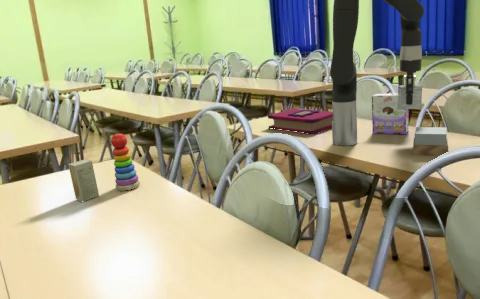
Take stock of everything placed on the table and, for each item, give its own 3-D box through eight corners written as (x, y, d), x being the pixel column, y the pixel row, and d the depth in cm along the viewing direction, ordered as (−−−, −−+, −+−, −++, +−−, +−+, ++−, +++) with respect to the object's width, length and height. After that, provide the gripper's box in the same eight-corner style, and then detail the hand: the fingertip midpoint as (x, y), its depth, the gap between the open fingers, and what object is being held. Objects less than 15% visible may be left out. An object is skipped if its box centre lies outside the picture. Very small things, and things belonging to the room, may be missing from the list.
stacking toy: (129, 182, 155) (120, 129, 150) (145, 185, 151) (136, 131, 146) (111, 189, 149) (101, 135, 144) (127, 193, 145) (117, 137, 140)
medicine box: (418, 106, 173) (419, 84, 171) (421, 108, 169) (422, 85, 166) (397, 107, 174) (397, 85, 172) (400, 109, 170) (400, 87, 167)
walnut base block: (413, 156, 156) (413, 145, 155) (413, 148, 166) (413, 137, 165) (447, 157, 152) (448, 145, 151) (446, 148, 161) (446, 137, 160)
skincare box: (93, 193, 147) (86, 158, 144) (99, 196, 144) (93, 160, 141) (74, 200, 142) (67, 163, 139) (80, 203, 139) (73, 165, 136)
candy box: (408, 131, 188) (409, 92, 183) (405, 135, 183) (405, 95, 179) (375, 130, 195) (375, 92, 191) (371, 133, 190) (371, 95, 186)
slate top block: (414, 144, 155) (414, 133, 154) (416, 137, 164) (416, 127, 163) (446, 145, 151) (446, 134, 150) (446, 138, 160) (446, 127, 159)
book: (295, 121, 231) (294, 106, 229) (341, 125, 211) (340, 110, 209) (267, 129, 218) (266, 114, 216) (313, 135, 198) (312, 118, 196)
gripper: (400, 56, 174) (399, 100, 179) (399, 60, 161) (398, 106, 166) (421, 56, 171) (419, 99, 176) (421, 59, 159) (419, 106, 163)
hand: (409, 102), depth 171 cm, fingers closed on medicine box, 5 cm apart
